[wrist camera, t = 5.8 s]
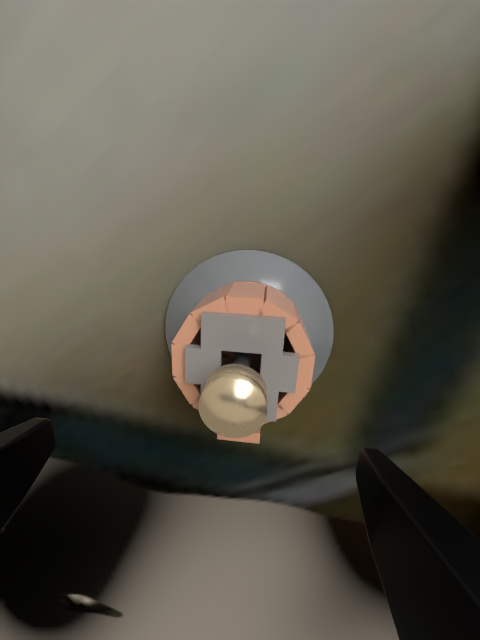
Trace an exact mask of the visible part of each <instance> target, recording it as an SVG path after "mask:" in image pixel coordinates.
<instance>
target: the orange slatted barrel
mask: <svg viewBox="0 0 480 640" xmlns="http://www.w3.org/2000/svg"><path fill="white" fill-rule="evenodd" d="M284 339H285V347H284V352H283V345H284ZM172 342H173V343H172V344H171V346H172V376H174V377H173V378H174V380H175V381H176V383H177V385H178V386H179V388H180V389H181V391H182V393H183V394H184V396H185V397H186V399H187V400H188V402H189V404H192V407H194V408H196V409H197V410H199V408H198V405H199V399H200V396H201V394H202V391H203V389H204V386H205V384H206V381H207V379H208V377H209V376H210V374H211V373H212V372H213V371H214V370H216V369H217V368H219V367H221V366H222V351H232V352H244V353H256V354H262V356H261V369H260V375H261V377H262V378H263V380H264V381H265V384H266V387H267V416H266V420H265V422H264V424H265V423H268V422H271V421H273V422H276V419H279V418H282V417H284V416H287V413H288V414H290V413H291V411H292V410H293V409H294V408H295V407H296V406H297V404H298V403H299V402H300V401H301V400H302V399H303V398H304V396H305V395H306V394H307V393H308V392H309V391H310V389H309V388H311V383H312V376H313V369H314V361H315V353H314V350H313V347H312V344H311V341H310V338H309V335H308V332H307V329H306V327H305V325H304V323H303V321H302V319H301V316H300V314H299V312H298V310H297V308H296V306H295V304H294V303H293V301H292V300H290V299H289V298H288V297H287V296H286V295H285V294H283V293H282V292H281V291H279V290H278V289H276V288H274V287H272V286H270V285H267V284H264V283H260V282H255V281H238V282H232V283H229V284H226V285H224V286H221V287H219V288H218V289H216V290H214V291H213V292H212V293H210V294H208V295H206V296H205V297H204V298H203V299H202V300H201V301H200V302H199V304H198V305H197V306H196V307H195V308H194V309H193V310H192V311H191V313H190V314H189V315H188V317H187V318H186V320H185V322H184V323H183V325H182V327H181V328H180V330H179V332H178V333H177V335H176V336H175V338H174V340H173V341H172ZM217 439H220V440H230V441H239V442H248V443H258V444H259V442H260V429H259V430H258V431H256V432H255V433H253V434H252V435H249V436H246V437H242V438H228V437H224V436H221V435H219V434H217Z"/></svg>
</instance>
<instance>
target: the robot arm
mask: <svg viewBox="0 0 480 640" xmlns="http://www.w3.org/2000/svg"><path fill="white" fill-rule="evenodd" d="M55 444H56V440H55V435H54V430H53V425H52V422H51V420H50V419H46V418H34V419H31V420H29V421H26V422H24V423H22V424H19V425H17V426H15V427H12V428H10V429H8V430H5V431H3V432H1V433H0V531H1V530H2V528H3V527H4V525H5V524H6V523H7V522H8V520H9V519H10V517H11V516H12V515H13V513H14V512H15V511H16V509H17V508H18V506H19V505H20V503H21V502H22V501H23V499H24V497H25V496H26V494H27V493H28V491H29V489H30V488H31V486H32V484H33V483H34V481H35V480H36V478H37V476H38V475H39V473H40V471H41V470H42V468H43V467H44V465H45V463H46V462H47V460H48V458H49V457H50V455H51V453H52V452H53V450H54V448H55ZM356 481H357V486H358V491H359V495H360V500H361V505H362V510H363V515H364V520H365V525H366V529H367V534H368V538H369V542H370V546H371V549H372V553H373V556H374V559H375V562H376V566H377V569H378V572H379V575H380V578H381V582H382V585H383V588H384V591H385V595H386V598H387V601H388V604H389V608H390V611H391V614H392V617H393V620H394V624H395V627H396V630H397V633H398V637H399V640H480V539H479V538H478V537H477V536H476V535H475V534H473V533H472V532H471V531H470V530H469V529H468V528H467V527H465V526H464V525H463V524H462V523H461V522H460V521H459V520H458V519H456V518H455V517H454V516H453V515H452V514H451V513H450V512H448V511H447V510H446V509H445V508H444V507H443V506H442V505H441V504H439V503H438V502H437V501H436V500H435V499H434V498H433V497H432V496H430V495H429V494H428V493H427V492H426V491H425V490H424V489H422V488H421V487H420V486H419V485H418V484H417V483H416V482H415V481H413V480H412V479H411V478H410V477H409V476H408V475H407V474H406V473H404V472H403V471H402V470H401V469H400V468H399V467H398V466H396V465H395V464H394V463H393V462H392V461H391V460H390V459H389V458H387V457H386V456H385V455H384V454H383V453H382V452H381V451H379V450H378V449H375V448H366V447H363V448H362V449H361V450H360V453H359V458H358V463H357V468H356Z"/></svg>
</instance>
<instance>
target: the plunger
mask: <svg viewBox="0 0 480 640" xmlns="http://www.w3.org/2000/svg"><path fill="white" fill-rule="evenodd" d="M284 347H285V339H284V345H283V352H284ZM261 356H262V354H256V353H244V352H232V351H222V366H221V367H219V368H217V369H216V370H214V371H213V372H212V373H211V374H210V376H209V377H208V379H207V381H206V384H205V386H204V389H203V391H202V394H201V396H200V399H199V405H198V408H199V414H200V417H201V419H202V421H203V422H204V423H205V425H206V426H207V427H208V428H209V429H210V430H212V431H213V432H215V433H217V434H219V435H221V436H224V437H228V438H242V437H246V436H249V435H252V434H253V433H255V432H256V431H258V430H259V429H260V428H261V427H262V425H263V424H264V422H265V420H266V416H267V387H266V384H265V381H264V380H263V378H262V377H261V375H260V369H261Z"/></svg>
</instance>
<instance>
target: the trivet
mask: <svg viewBox="0 0 480 640" xmlns="http://www.w3.org/2000/svg"><path fill="white" fill-rule="evenodd" d="M238 281H255V282H260V283H264V284H267V285H270V286H272V287H274V288H276V289H278V290H279V291H281V292H282V293H283V294H285V295H286V296H287V297H288V298H289V299H290V300H292V301H293V303H294V304H295V306H296V308H297V310H298V312H299V314H300V316H301V319H302V321H303V323H304V325H305V327H306V329H307V332H308V335H309V338H310V341H311V344H312V347H313V350H314V353H315V361H314V369H313V376H312V383H313V382H314V381H315V380H316V379H317V377H318V376H319V375H320V373H321V372H322V370H323V369H324V367H325V365H326V363H327V361H328V358H329V356H330V353H331V349H332V345H333V336H334V328H333V319H332V314H331V310H330V307H329V304H328V301H327V299H326V297H325V296H324V294H323V292H322V290H321V289H320V287H319V286H318V285H317V283H316V282H315V281H314V279H313V278H312V277H311V276H310V275H309V274H308V273H307V272H306V271H305V270H303V269H302V268H301V267H300V266H298V265H297V264H295V263H294V262H292V261H290V260H288V259H287V258H284V257H282V256H279V255H277V254H274V253H270V252H266V251H261V250H235V251H229V252H225V253H222V254H219V255H216V256H214V257H212V258H210V259H208V260H206V261H204V262H203V263H201V264H199V265H198V266H196V267H195V268H194V269H193V270H192V271H190V272H189V273H188V274H187V275H186V276H185V277H184V279H183V280H182V281H181V282H180V284H179V285H178V287H177V288H176V289H175V291H174V293H173V295H172V297H171V300H170V303H169V306H168V309H167V314H166V321H165V332H166V341H167V345H168V349H169V352H170V354H171V357H172V346H171V344H172V343H173V342H172V341H173V340H174V338H175V336H176V335H177V333H178V332H179V330H180V328H181V327H182V325H183V323H184V322H185V320H186V318H187V317H188V315H189V314H190V313H191V311H192V310H193V309H194V308H195V307H196V306H197V305H198V304H199V302H200V301H201V300H202V299H203V298H204V297H205V296H206V295H208V294H210V293H212V292H213V291H214V290H216V289H218V288H219V287H221V286H224V285H226V284H229V283H232V282H238ZM312 383H311V384H312Z"/></svg>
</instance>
